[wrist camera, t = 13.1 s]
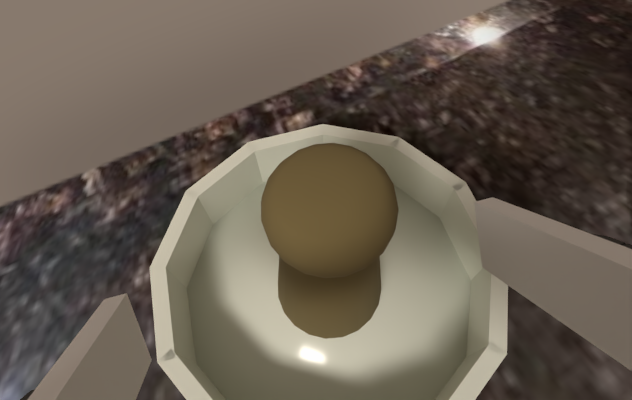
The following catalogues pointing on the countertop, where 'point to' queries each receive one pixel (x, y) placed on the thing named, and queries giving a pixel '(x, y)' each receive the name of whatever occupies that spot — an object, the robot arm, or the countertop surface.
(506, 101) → the countertop surface
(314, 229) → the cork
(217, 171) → the bowl
